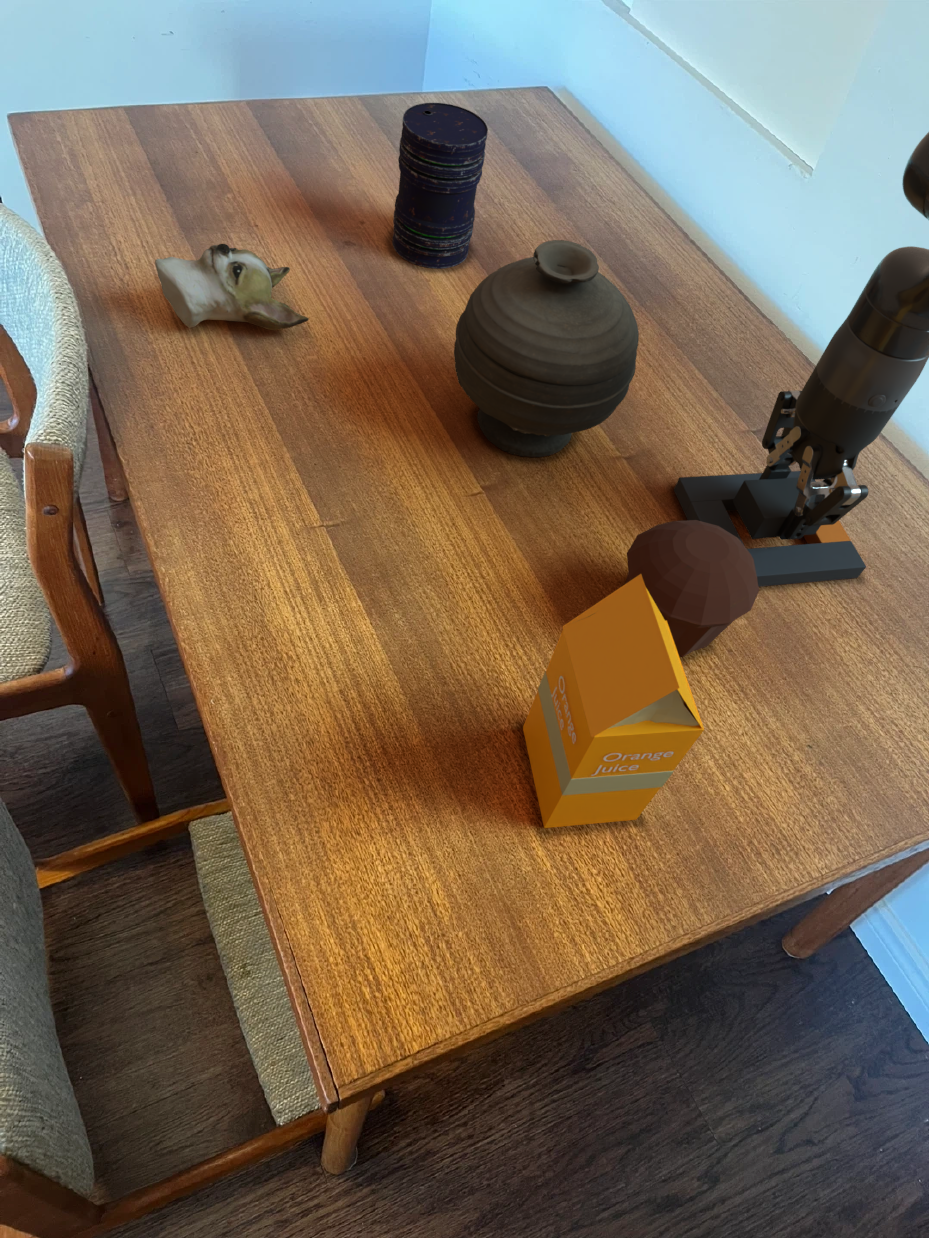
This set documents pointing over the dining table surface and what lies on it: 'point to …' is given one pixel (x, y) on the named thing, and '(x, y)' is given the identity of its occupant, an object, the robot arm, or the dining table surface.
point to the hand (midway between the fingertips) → (775, 514)
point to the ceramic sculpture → (225, 289)
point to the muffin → (694, 578)
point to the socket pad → (781, 564)
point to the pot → (545, 349)
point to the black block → (767, 505)
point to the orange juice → (610, 713)
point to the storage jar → (438, 183)
